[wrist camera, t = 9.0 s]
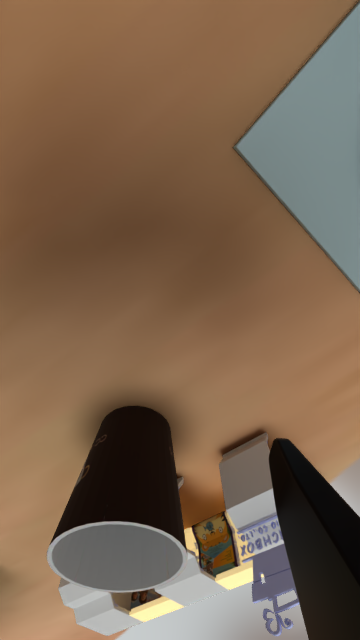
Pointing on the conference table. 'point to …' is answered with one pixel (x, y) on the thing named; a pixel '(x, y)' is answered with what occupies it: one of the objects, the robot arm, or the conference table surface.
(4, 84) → the conference table surface
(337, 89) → the flat light blue board
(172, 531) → the coffee mug
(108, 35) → the conference table surface
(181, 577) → the diorama
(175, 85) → the conference table surface
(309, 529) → the robot arm
